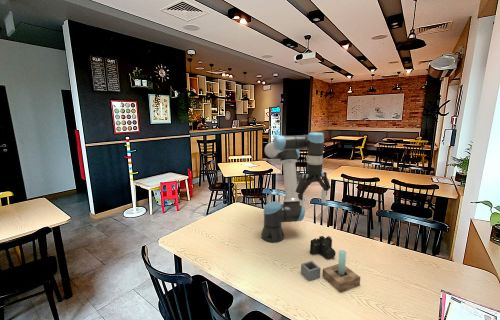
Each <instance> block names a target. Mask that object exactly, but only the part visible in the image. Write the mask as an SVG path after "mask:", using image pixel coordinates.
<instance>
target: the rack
mask: <svg viewBox="0 0 500 320" xmlns="http://www.w3.org/2000/svg"><path fill="white" fill-rule="evenodd" d="M321 274H322V278H323V279H325V281H327V283H329V284H330V285H331V286H332V287H333V288H334V289H335V290H337V291H338V292H339V294H341V293H343V292H346V291H349V290H351V289H353V288H357V287H359V286H360V285H361V276H360V275H358V274H357V273H356V272H354V271H353V270H352V269H350V268H349V267H348V266H346V265H345V274H344V276H343V277H340V276H339V275H338V263H337V264H333V265H330V266H327V267H324V268H322V273H321Z"/></svg>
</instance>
